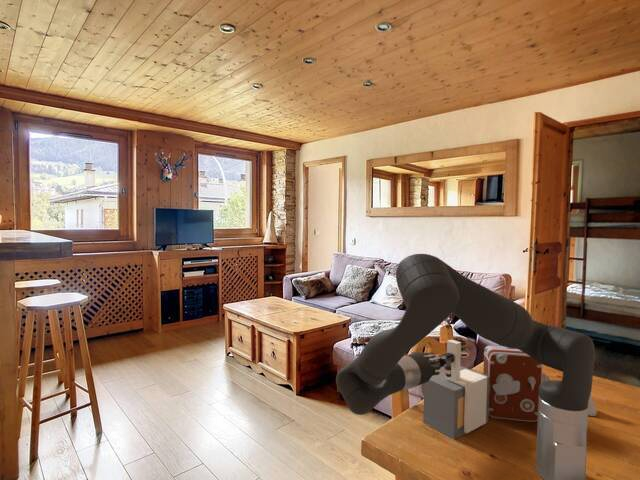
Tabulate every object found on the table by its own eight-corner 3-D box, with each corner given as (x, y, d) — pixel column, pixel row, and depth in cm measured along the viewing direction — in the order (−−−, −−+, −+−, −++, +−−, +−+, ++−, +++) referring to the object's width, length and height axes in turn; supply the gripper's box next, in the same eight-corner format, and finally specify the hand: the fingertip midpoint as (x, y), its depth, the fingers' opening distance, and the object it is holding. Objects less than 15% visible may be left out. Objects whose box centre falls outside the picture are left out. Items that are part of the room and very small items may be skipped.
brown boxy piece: (562, 428, 103) (566, 357, 102) (487, 420, 107) (489, 352, 106) (549, 411, 112) (552, 346, 111) (480, 404, 116) (482, 341, 115)
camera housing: (464, 403, 116) (465, 362, 116) (495, 417, 108) (496, 373, 107) (423, 422, 105) (424, 377, 105) (453, 439, 97) (455, 391, 96)
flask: (569, 412, 111) (571, 380, 110) (567, 402, 117) (568, 371, 117) (599, 419, 108) (601, 385, 107) (595, 408, 114) (596, 376, 113)
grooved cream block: (464, 412, 109) (466, 335, 108) (485, 423, 103) (488, 341, 102) (444, 421, 104) (446, 340, 102) (466, 433, 98) (468, 347, 97)
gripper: (429, 365, 86) (473, 350, 96) (388, 348, 97) (432, 337, 107) (429, 397, 86) (473, 379, 96) (388, 377, 97) (431, 362, 107)
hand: (451, 357), depth 101 cm, fingers closed
